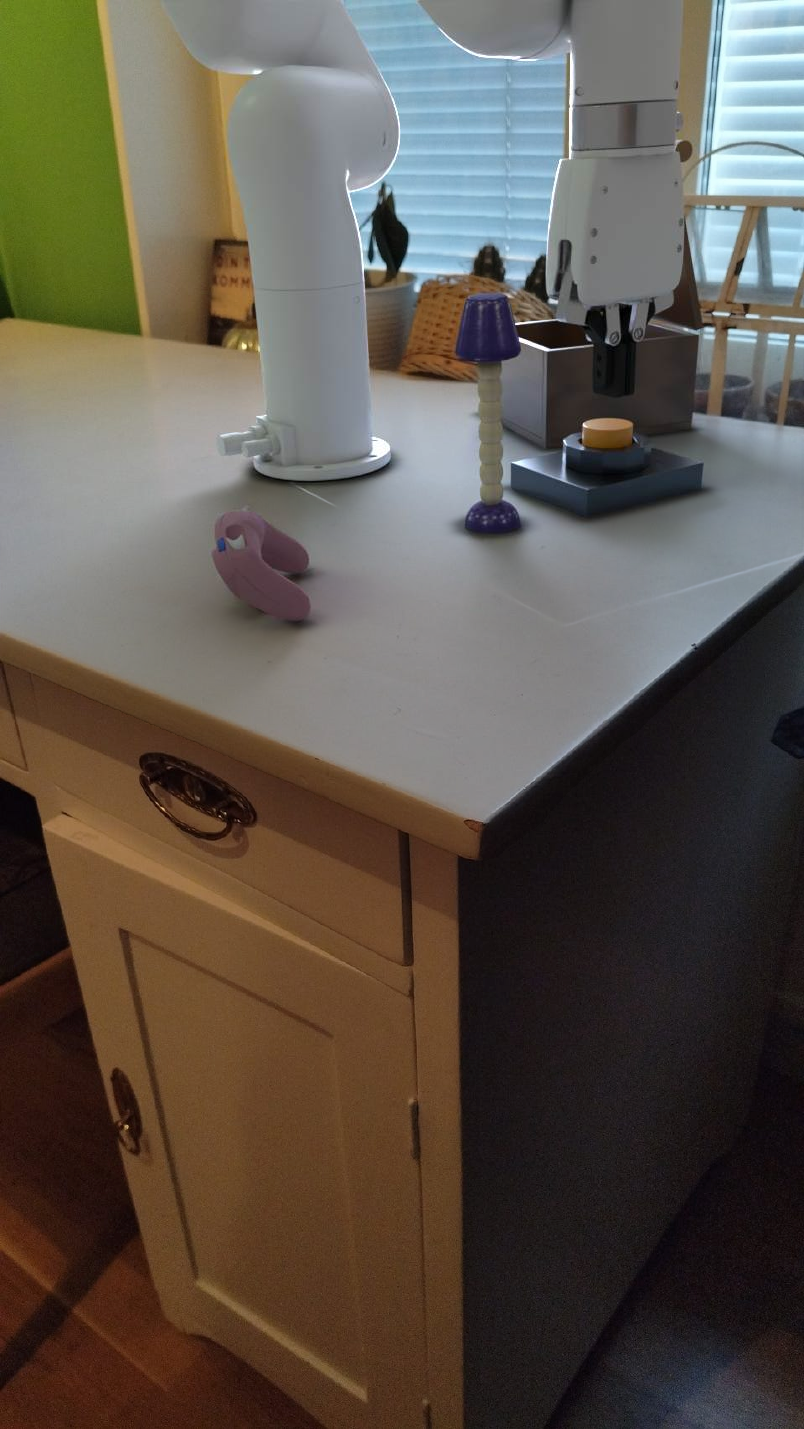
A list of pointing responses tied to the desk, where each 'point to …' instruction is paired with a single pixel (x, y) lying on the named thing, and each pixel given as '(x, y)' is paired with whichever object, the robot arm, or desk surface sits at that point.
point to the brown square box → (558, 383)
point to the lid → (684, 276)
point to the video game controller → (260, 564)
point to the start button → (607, 433)
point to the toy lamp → (489, 401)
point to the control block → (605, 476)
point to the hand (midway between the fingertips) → (613, 393)
